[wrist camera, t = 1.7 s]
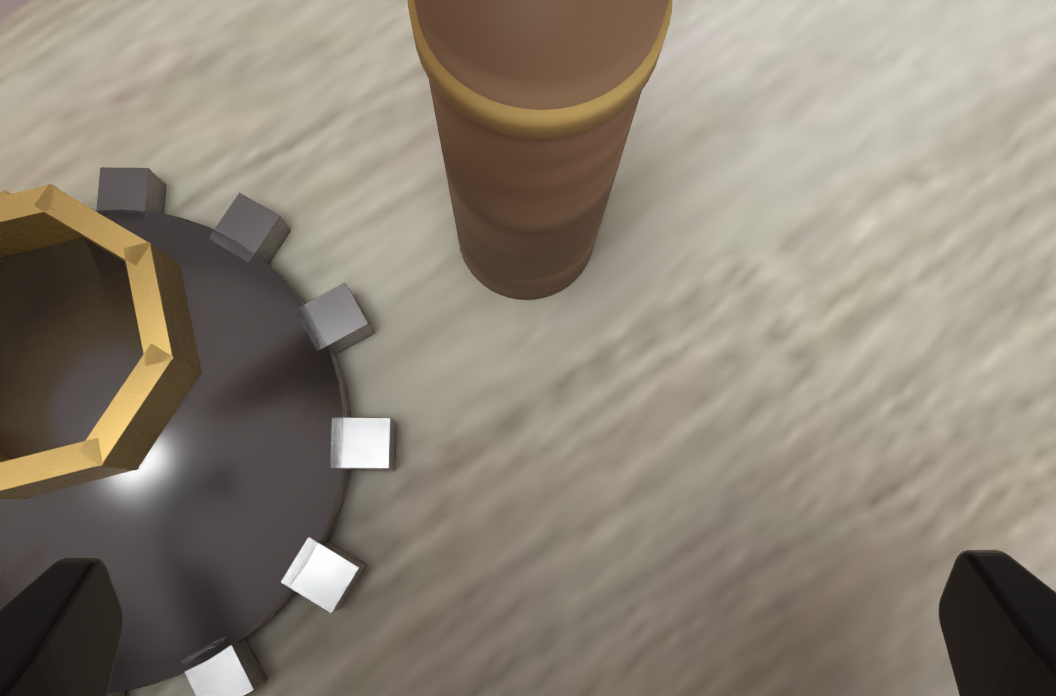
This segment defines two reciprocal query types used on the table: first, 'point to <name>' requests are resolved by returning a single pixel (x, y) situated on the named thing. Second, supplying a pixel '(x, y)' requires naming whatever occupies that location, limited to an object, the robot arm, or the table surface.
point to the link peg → (534, 124)
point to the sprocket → (174, 422)
